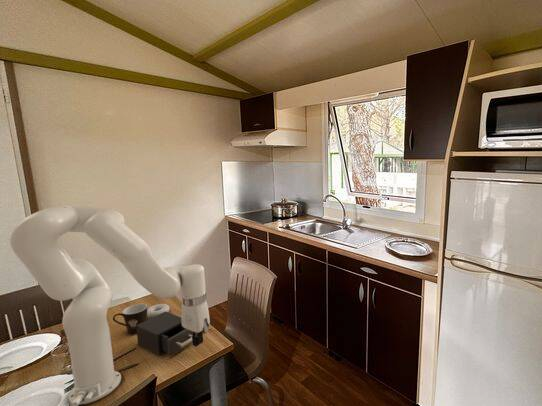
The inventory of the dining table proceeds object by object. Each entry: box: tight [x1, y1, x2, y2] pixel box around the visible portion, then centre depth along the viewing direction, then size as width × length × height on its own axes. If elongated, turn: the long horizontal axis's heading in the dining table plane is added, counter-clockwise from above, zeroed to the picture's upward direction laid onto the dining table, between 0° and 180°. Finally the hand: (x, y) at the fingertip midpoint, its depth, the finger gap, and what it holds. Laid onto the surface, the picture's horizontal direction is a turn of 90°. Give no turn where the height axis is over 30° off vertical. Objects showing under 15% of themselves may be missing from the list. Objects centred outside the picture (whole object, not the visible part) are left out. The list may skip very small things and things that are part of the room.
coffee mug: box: [112, 303, 148, 336], centre depth 118 cm, size 12×9×10 cm
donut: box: [147, 303, 170, 320], centre depth 131 cm, size 10×3×10 cm
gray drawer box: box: [136, 311, 182, 356], centre depth 111 cm, size 14×12×9 cm
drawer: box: [160, 324, 193, 358], centre depth 108 cm, size 17×10×7 cm, turn 65°
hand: (198, 343), depth 103 cm, fingers closed
